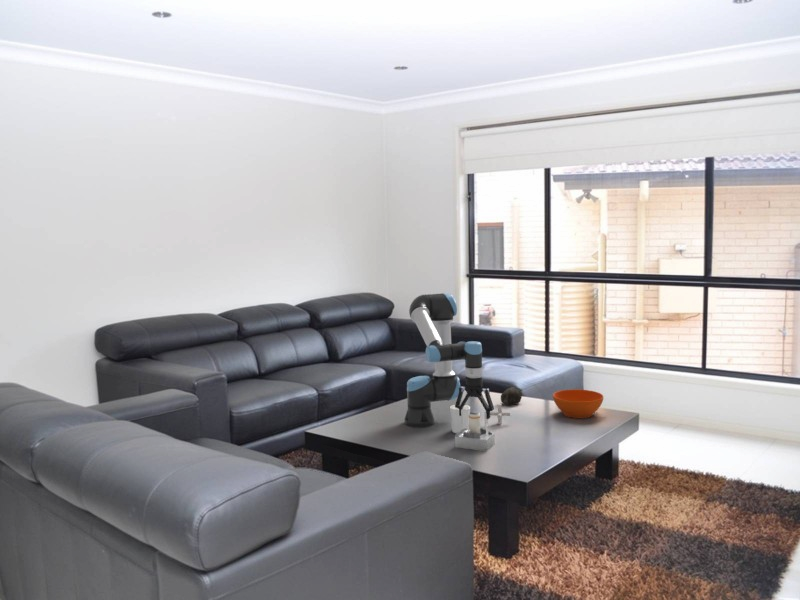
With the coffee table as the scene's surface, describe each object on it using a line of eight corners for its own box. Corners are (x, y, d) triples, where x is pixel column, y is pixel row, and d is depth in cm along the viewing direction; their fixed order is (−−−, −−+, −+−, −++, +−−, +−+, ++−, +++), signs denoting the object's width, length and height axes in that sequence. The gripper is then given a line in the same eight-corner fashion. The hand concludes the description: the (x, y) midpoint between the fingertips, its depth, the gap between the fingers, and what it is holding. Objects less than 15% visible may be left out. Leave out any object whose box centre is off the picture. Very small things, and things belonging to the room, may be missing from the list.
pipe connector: (509, 427, 353) (509, 407, 352) (489, 426, 355) (488, 406, 354) (510, 421, 363) (510, 401, 362) (490, 420, 365) (490, 401, 364)
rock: (497, 403, 394) (499, 385, 393) (506, 401, 403) (509, 384, 402) (513, 407, 388) (516, 389, 387) (522, 405, 397) (525, 388, 397)
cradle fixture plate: (455, 447, 326) (454, 432, 325) (463, 440, 335) (463, 425, 335) (486, 451, 319) (486, 435, 318) (494, 443, 329) (494, 428, 328)
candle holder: (457, 435, 343) (456, 410, 341) (446, 430, 351) (446, 406, 350) (474, 432, 347) (474, 407, 346) (463, 426, 356) (463, 403, 355)
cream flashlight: (467, 435, 325) (466, 413, 324) (471, 432, 330) (471, 410, 329) (478, 437, 323) (477, 414, 322) (482, 433, 328) (481, 411, 327)
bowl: (585, 405, 388) (585, 387, 387) (613, 417, 364) (613, 398, 363) (544, 411, 380) (543, 392, 379) (569, 423, 356) (569, 403, 355)
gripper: (446, 376, 325) (447, 424, 328) (495, 380, 315) (496, 429, 318) (453, 372, 332) (454, 419, 334) (501, 376, 322) (501, 424, 324)
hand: (474, 424), depth 326 cm, fingers open, 10 cm apart
